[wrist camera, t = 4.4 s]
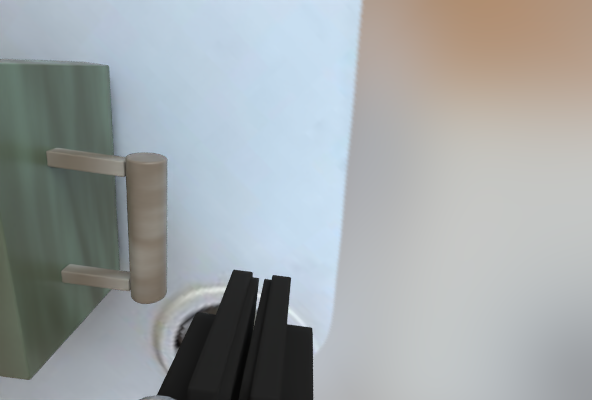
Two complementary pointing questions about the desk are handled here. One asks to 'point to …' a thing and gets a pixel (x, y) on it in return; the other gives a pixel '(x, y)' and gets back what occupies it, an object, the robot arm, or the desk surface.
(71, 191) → the drawer
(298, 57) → the desk surface
